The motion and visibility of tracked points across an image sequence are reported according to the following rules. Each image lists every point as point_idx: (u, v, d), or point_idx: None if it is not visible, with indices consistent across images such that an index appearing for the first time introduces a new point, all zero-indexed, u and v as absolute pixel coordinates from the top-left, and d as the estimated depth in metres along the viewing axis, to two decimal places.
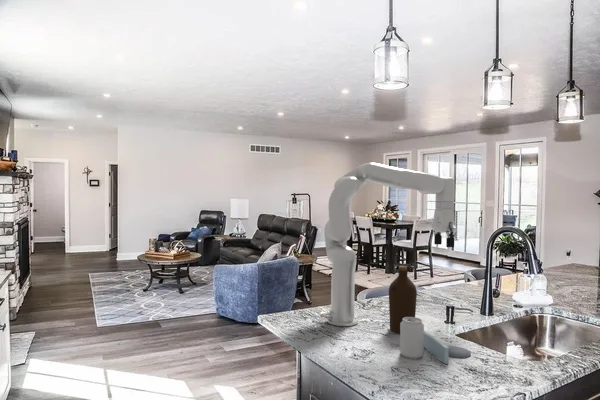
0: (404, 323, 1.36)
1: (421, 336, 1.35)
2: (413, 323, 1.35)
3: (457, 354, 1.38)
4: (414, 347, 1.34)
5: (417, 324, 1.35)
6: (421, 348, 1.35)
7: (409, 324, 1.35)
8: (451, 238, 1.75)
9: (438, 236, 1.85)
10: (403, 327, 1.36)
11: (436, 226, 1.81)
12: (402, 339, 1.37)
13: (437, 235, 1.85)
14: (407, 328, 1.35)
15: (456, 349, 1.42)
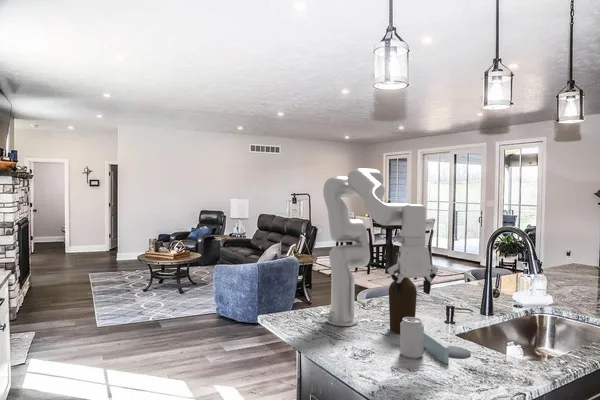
0: (404, 323, 1.36)
1: (421, 336, 1.35)
2: (413, 323, 1.35)
3: (457, 354, 1.38)
4: (414, 347, 1.34)
5: (417, 324, 1.35)
6: (421, 348, 1.35)
7: (409, 324, 1.35)
8: None
9: None
10: (403, 327, 1.36)
11: (412, 270, 1.35)
12: (402, 339, 1.37)
13: None
14: (407, 328, 1.35)
15: (456, 349, 1.42)
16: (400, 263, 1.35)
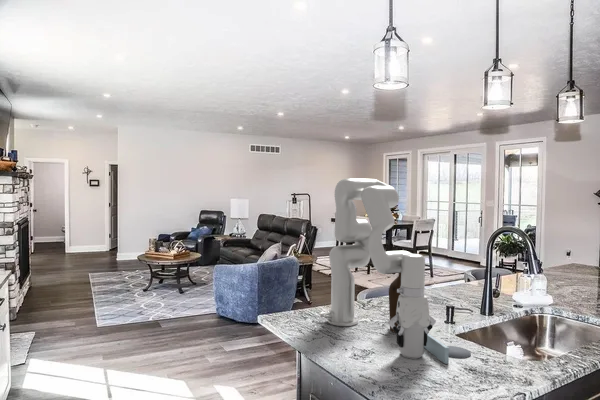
0: None
1: (421, 336, 1.35)
2: None
3: (457, 354, 1.38)
4: (414, 347, 1.34)
5: (417, 324, 1.35)
6: (421, 348, 1.35)
7: None
8: None
9: None
10: None
11: (411, 321, 1.35)
12: None
13: (401, 333, 1.37)
14: (407, 328, 1.35)
15: (456, 349, 1.42)
16: (399, 314, 1.36)
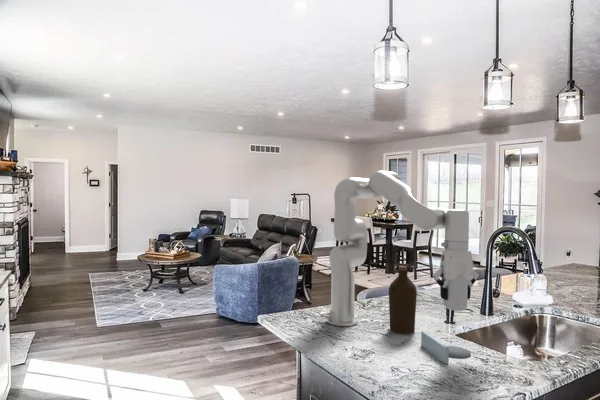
0: None
1: (465, 288, 1.38)
2: (458, 276, 1.37)
3: (457, 354, 1.38)
4: (459, 298, 1.37)
5: (461, 277, 1.38)
6: (465, 300, 1.38)
7: None
8: None
9: None
10: None
11: (456, 274, 1.37)
12: None
13: None
14: None
15: (456, 349, 1.42)
16: (444, 267, 1.38)
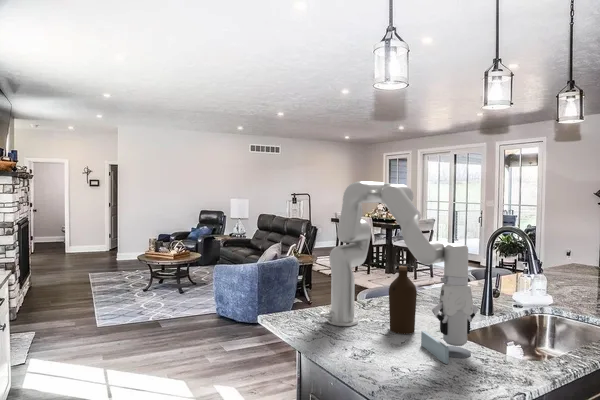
0: None
1: (465, 324, 1.38)
2: (457, 311, 1.38)
3: (457, 354, 1.38)
4: (459, 334, 1.37)
5: (461, 312, 1.38)
6: (465, 335, 1.38)
7: None
8: None
9: None
10: None
11: (456, 309, 1.38)
12: None
13: None
14: (451, 316, 1.38)
15: (456, 349, 1.42)
16: (443, 302, 1.38)
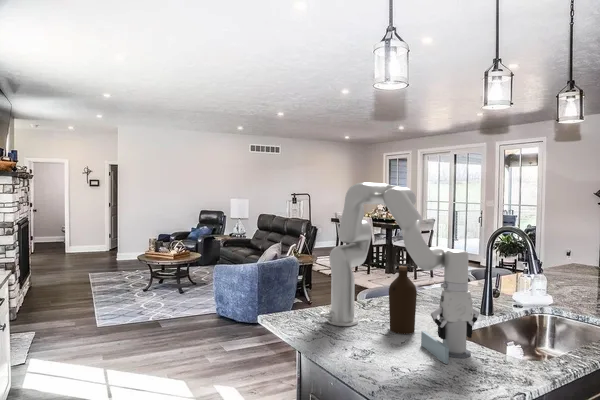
0: None
1: (464, 332, 1.38)
2: None
3: None
4: (458, 343, 1.37)
5: (460, 321, 1.38)
6: (464, 344, 1.38)
7: None
8: None
9: None
10: (446, 323, 1.39)
11: (456, 315, 1.38)
12: (445, 335, 1.39)
13: None
14: (451, 324, 1.38)
15: None
16: (443, 308, 1.38)
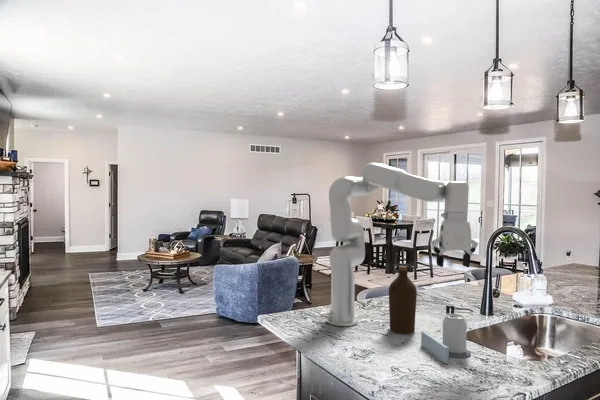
0: (447, 319, 1.39)
1: (464, 332, 1.38)
2: (457, 319, 1.38)
3: (457, 354, 1.38)
4: (458, 342, 1.37)
5: (460, 320, 1.38)
6: (464, 344, 1.38)
7: (453, 320, 1.38)
8: None
9: None
10: (446, 323, 1.39)
11: (454, 244, 1.42)
12: (445, 335, 1.40)
13: None
14: (451, 324, 1.38)
15: None
16: (442, 236, 1.43)
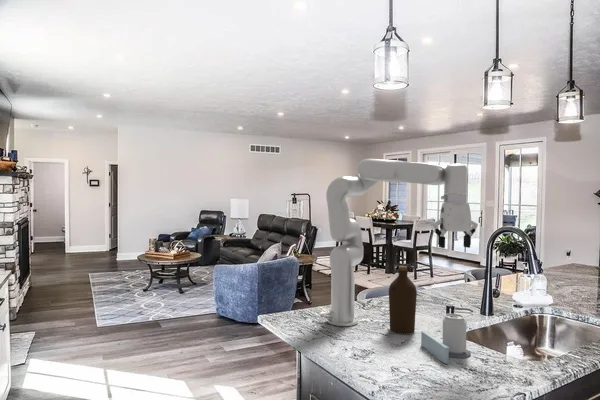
0: (447, 319, 1.39)
1: (464, 332, 1.38)
2: (456, 319, 1.38)
3: (457, 354, 1.38)
4: (458, 342, 1.37)
5: (460, 320, 1.38)
6: (464, 344, 1.38)
7: (452, 320, 1.38)
8: None
9: None
10: (446, 323, 1.39)
11: (455, 225, 1.46)
12: (445, 335, 1.40)
13: None
14: (450, 324, 1.38)
15: None
16: (443, 218, 1.47)
